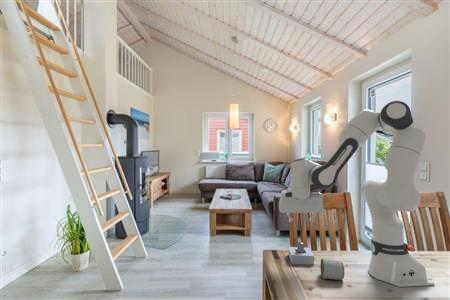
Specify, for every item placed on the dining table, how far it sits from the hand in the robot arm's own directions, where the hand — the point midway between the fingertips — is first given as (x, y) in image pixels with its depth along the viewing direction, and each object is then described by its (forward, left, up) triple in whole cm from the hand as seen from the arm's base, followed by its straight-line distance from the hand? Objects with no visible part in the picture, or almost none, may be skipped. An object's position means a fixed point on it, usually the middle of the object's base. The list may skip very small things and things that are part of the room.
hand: (301, 221), depth 123 cm
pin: (0, 0, -18) cm, 18 cm away
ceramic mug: (-9, +15, -18) cm, 26 cm away
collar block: (0, 0, -18) cm, 18 cm away
